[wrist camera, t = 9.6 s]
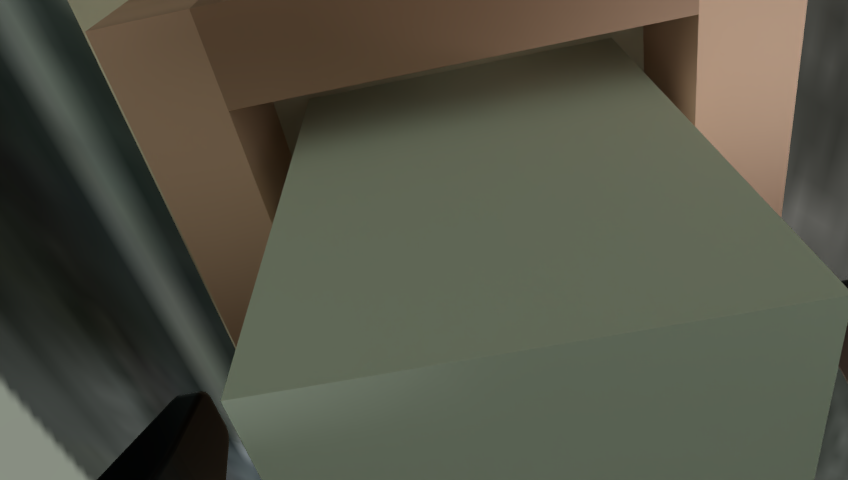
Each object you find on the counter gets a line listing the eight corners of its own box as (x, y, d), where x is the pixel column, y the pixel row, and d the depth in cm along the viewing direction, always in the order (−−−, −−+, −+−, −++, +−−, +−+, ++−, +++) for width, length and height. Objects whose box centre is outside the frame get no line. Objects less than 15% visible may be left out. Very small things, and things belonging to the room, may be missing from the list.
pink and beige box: (729, 431, 16) (792, 549, 13) (326, 494, 17) (314, 617, 14) (796, -308, 8) (973, -359, 6) (45, -128, 9) (-91, -102, 6)
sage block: (611, 38, 10) (854, 294, 4) (624, 378, 13) (762, 723, 8) (309, 98, 10) (220, 401, 5) (406, 414, 14) (411, 766, 9)
